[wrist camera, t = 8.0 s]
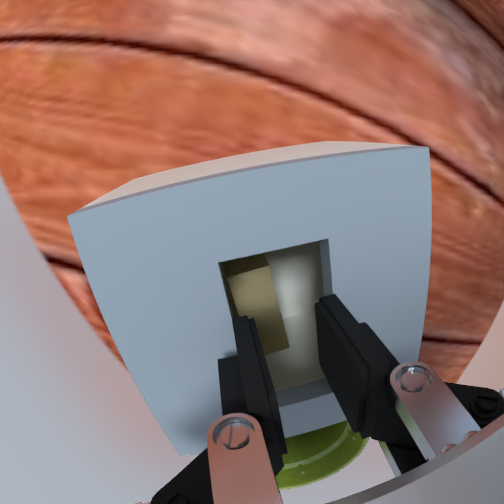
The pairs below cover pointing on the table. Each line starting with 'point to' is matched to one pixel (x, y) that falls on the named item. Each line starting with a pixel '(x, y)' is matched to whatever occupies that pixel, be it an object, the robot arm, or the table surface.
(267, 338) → the block
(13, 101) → the table surface
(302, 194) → the grey slotted box
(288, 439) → the plant pot
